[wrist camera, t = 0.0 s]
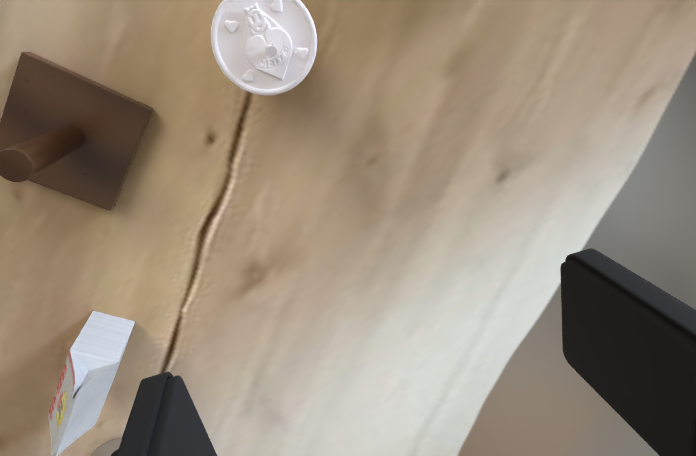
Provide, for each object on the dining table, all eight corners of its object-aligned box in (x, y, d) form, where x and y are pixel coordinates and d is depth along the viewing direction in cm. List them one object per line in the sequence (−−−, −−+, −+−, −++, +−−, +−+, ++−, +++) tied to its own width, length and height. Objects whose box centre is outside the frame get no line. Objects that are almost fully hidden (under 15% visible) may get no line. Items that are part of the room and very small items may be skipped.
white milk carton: (135, 321, 43) (104, 396, 34) (114, 378, 45) (79, 464, 36) (93, 310, 42) (49, 384, 33) (73, 369, 44) (26, 455, 35)
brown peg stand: (28, 51, 34) (-56, 54, 25) (152, 108, 37) (119, 130, 28) (-6, 161, 36) (-95, 201, 27) (114, 206, 39) (71, 257, 30)
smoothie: (243, 96, 38) (238, 124, 25) (204, 16, 35) (177, 1, 22) (315, 64, 38) (347, 76, 25) (282, -18, 35) (298, -52, 23)
